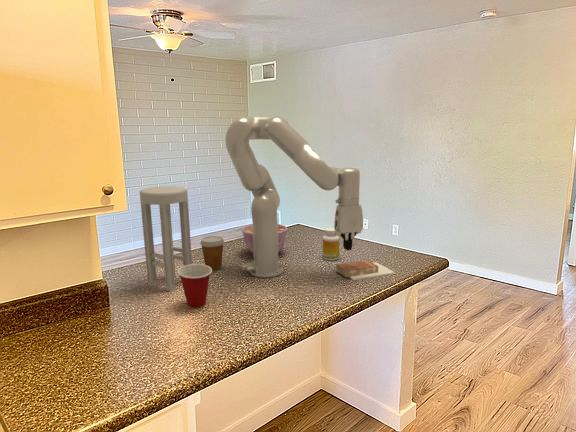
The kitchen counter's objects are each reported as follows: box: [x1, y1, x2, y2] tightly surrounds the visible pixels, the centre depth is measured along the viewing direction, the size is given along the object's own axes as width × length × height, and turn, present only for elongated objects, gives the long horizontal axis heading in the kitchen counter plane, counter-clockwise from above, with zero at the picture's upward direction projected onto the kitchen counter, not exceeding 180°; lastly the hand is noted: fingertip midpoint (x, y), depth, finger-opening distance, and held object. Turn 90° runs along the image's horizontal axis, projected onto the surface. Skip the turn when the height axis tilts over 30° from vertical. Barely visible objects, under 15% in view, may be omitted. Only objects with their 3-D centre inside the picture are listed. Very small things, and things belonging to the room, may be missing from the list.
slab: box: [335, 259, 378, 278], centre depth 164 cm, size 2×8×14 cm
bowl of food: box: [241, 223, 288, 254], centre depth 188 cm, size 20×20×12 cm
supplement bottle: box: [321, 227, 340, 261], centre depth 181 cm, size 7×7×13 cm
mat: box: [348, 261, 396, 281], centre depth 165 cm, size 18×13×1 cm
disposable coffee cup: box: [199, 235, 225, 271], centre depth 171 cm, size 10×10×12 cm
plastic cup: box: [177, 263, 213, 308], centre depth 137 cm, size 11×11×12 cm
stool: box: [139, 185, 193, 292], centre depth 152 cm, size 16×16×35 cm
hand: (347, 249), depth 160 cm, fingers closed
